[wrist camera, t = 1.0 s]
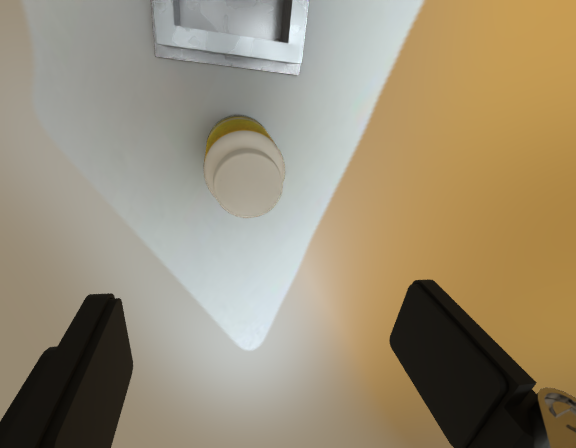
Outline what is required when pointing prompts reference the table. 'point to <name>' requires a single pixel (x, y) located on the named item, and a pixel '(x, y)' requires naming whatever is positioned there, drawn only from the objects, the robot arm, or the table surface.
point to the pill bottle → (243, 167)
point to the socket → (232, 32)
